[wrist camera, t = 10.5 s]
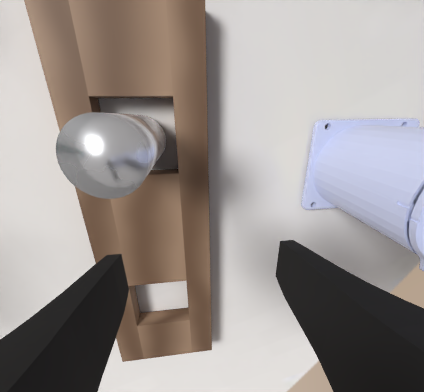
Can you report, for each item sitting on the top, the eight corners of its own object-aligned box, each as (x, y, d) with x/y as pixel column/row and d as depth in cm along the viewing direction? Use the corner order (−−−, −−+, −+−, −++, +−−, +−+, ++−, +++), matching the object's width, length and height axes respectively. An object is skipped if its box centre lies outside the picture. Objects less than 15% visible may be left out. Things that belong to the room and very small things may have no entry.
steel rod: (165, 116, 15) (146, 115, 8) (166, 163, 17) (149, 199, 9) (116, 113, 15) (46, 108, 8) (120, 161, 16) (65, 198, 9)
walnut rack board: (203, 8, 13) (204, -4, 12) (210, 337, 25) (211, 349, 24) (39, 1, 12) (20, -13, 11) (126, 347, 24) (122, 361, 23)
